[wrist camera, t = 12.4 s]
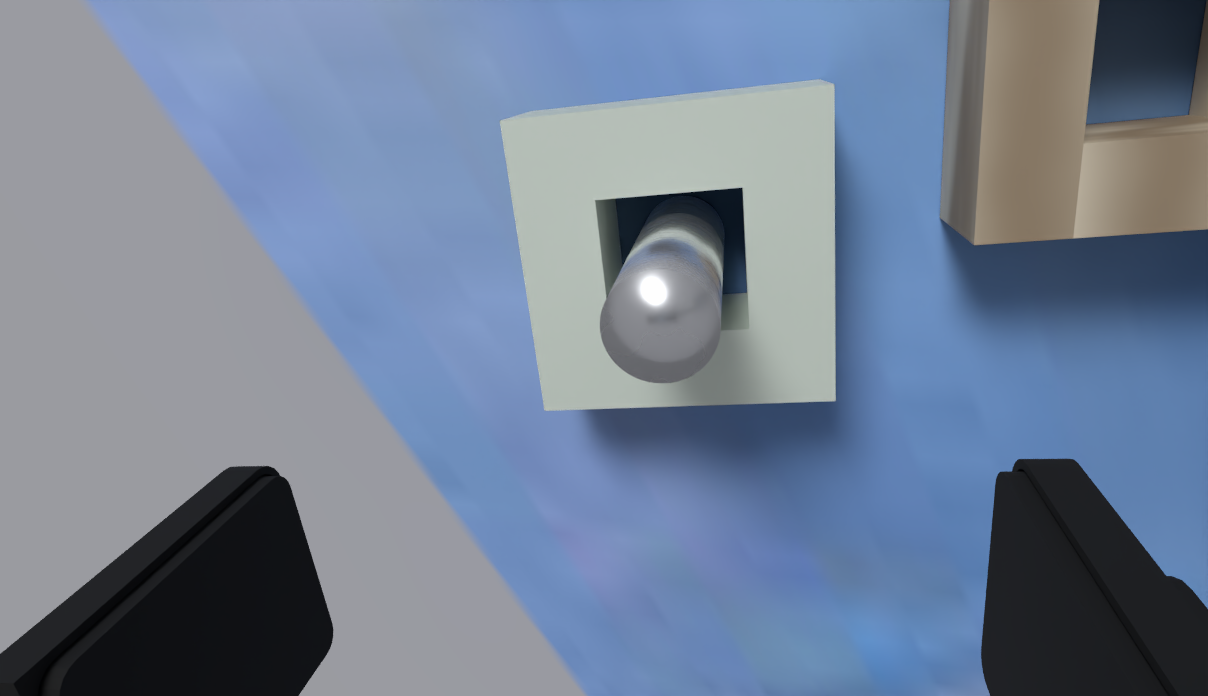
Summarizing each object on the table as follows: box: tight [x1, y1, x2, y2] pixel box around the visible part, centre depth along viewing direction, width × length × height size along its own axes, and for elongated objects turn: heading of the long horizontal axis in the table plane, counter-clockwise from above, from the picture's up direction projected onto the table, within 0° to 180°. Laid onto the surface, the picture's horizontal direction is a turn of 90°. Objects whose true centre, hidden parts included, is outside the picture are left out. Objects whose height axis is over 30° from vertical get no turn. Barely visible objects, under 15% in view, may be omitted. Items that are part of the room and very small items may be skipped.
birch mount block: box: [940, 0, 1208, 245], centre depth 22 cm, size 10×10×4 cm
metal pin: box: [600, 196, 724, 383], centre depth 23 cm, size 3×3×10 cm
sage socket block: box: [500, 79, 836, 411], centre depth 26 cm, size 10×10×4 cm
